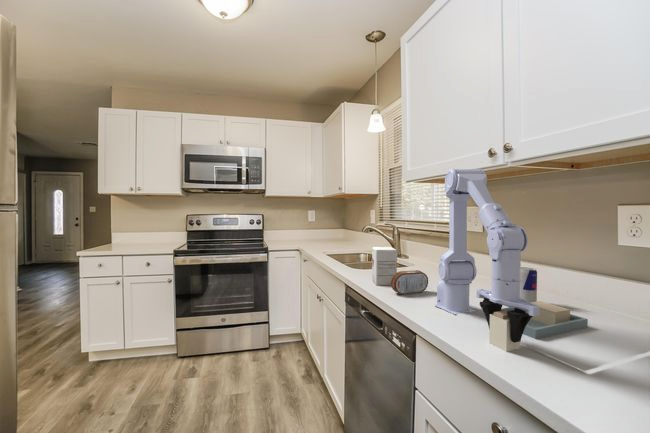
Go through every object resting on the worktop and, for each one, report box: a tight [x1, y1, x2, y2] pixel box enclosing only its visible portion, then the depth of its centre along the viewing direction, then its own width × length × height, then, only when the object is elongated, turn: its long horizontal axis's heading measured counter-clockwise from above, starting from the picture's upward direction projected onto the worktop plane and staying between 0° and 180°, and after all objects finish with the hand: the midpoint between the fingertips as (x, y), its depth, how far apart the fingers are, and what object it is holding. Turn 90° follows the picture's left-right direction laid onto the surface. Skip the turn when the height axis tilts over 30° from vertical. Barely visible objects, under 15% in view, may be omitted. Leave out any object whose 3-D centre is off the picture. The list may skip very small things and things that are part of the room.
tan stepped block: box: [531, 300, 571, 325], centre depth 84 cm, size 8×6×4 cm
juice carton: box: [488, 310, 521, 352], centre depth 70 cm, size 4×4×8 cm
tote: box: [501, 307, 589, 340], centre depth 82 cm, size 14×20×3 cm
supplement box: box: [371, 246, 398, 286], centre depth 129 cm, size 9×9×15 cm
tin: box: [390, 269, 429, 295], centre depth 113 cm, size 15×3×8 cm, turn 108°
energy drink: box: [520, 266, 538, 303], centre depth 100 cm, size 5×5×12 cm
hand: (504, 336), depth 70 cm, fingers open, 5 cm apart
